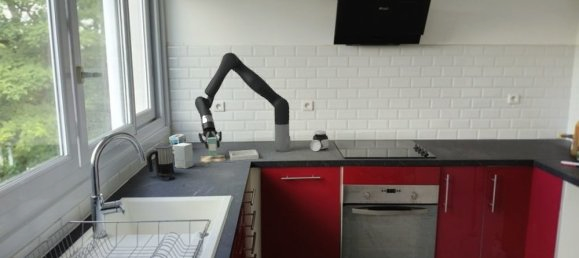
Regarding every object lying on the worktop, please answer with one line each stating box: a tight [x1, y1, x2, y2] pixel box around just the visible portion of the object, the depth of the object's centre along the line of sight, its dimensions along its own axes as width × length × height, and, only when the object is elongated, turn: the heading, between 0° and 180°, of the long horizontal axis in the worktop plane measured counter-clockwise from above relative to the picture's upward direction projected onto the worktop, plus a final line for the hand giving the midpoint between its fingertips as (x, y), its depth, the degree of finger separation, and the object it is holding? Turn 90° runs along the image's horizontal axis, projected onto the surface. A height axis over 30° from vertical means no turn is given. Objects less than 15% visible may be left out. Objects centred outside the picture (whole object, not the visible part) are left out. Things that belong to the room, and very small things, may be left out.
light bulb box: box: [168, 133, 187, 155], centre depth 269 cm, size 11×7×11 cm, turn 168°
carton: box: [207, 137, 218, 156], centre depth 246 cm, size 5×5×10 cm
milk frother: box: [145, 144, 175, 179], centre depth 214 cm, size 14×16×15 cm
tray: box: [228, 149, 260, 162], centre depth 250 cm, size 16×14×3 cm
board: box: [200, 154, 227, 165], centre depth 247 cm, size 14×14×1 cm
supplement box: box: [173, 142, 195, 170], centre depth 232 cm, size 7×7×13 cm
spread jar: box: [309, 130, 330, 152], centre depth 267 cm, size 12×11×12 cm
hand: (212, 147), depth 244 cm, fingers closed on carton, 5 cm apart
